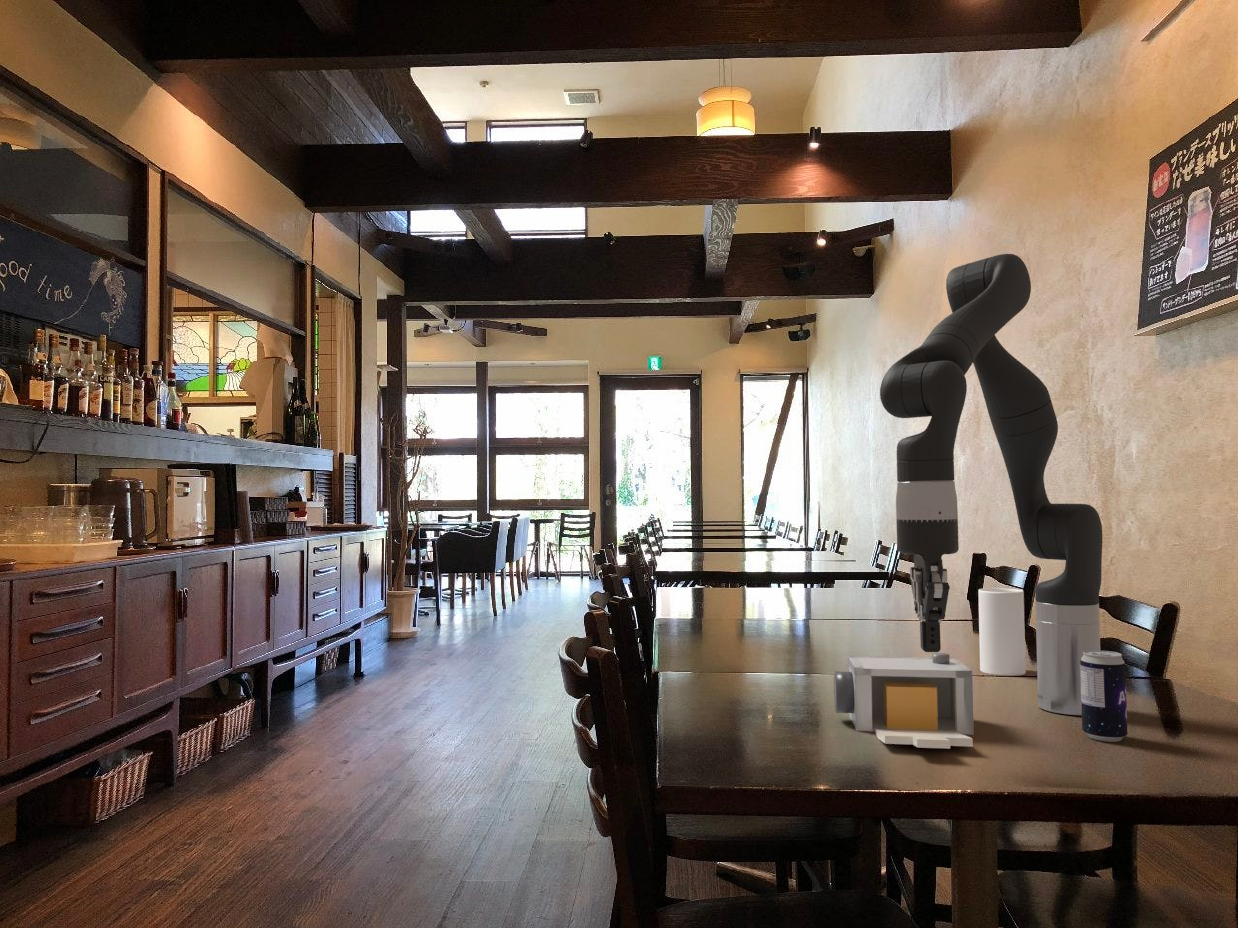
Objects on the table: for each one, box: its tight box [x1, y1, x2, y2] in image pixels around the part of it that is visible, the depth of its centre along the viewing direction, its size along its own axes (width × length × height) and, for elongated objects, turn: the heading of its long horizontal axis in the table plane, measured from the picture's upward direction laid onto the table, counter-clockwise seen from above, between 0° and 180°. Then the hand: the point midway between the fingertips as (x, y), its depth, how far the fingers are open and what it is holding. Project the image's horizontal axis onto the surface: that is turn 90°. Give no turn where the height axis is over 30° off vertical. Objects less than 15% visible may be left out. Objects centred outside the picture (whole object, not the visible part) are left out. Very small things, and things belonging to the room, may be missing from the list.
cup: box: [977, 587, 1027, 677], centre depth 173 cm, size 8×8×16 cm
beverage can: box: [1080, 649, 1129, 743], centre depth 125 cm, size 6×6×12 cm
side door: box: [874, 728, 974, 750], centre depth 117 cm, size 11×1×13 cm
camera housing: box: [833, 652, 974, 735], centre depth 130 cm, size 18×10×11 cm, turn 81°
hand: (930, 650), depth 113 cm, fingers closed
